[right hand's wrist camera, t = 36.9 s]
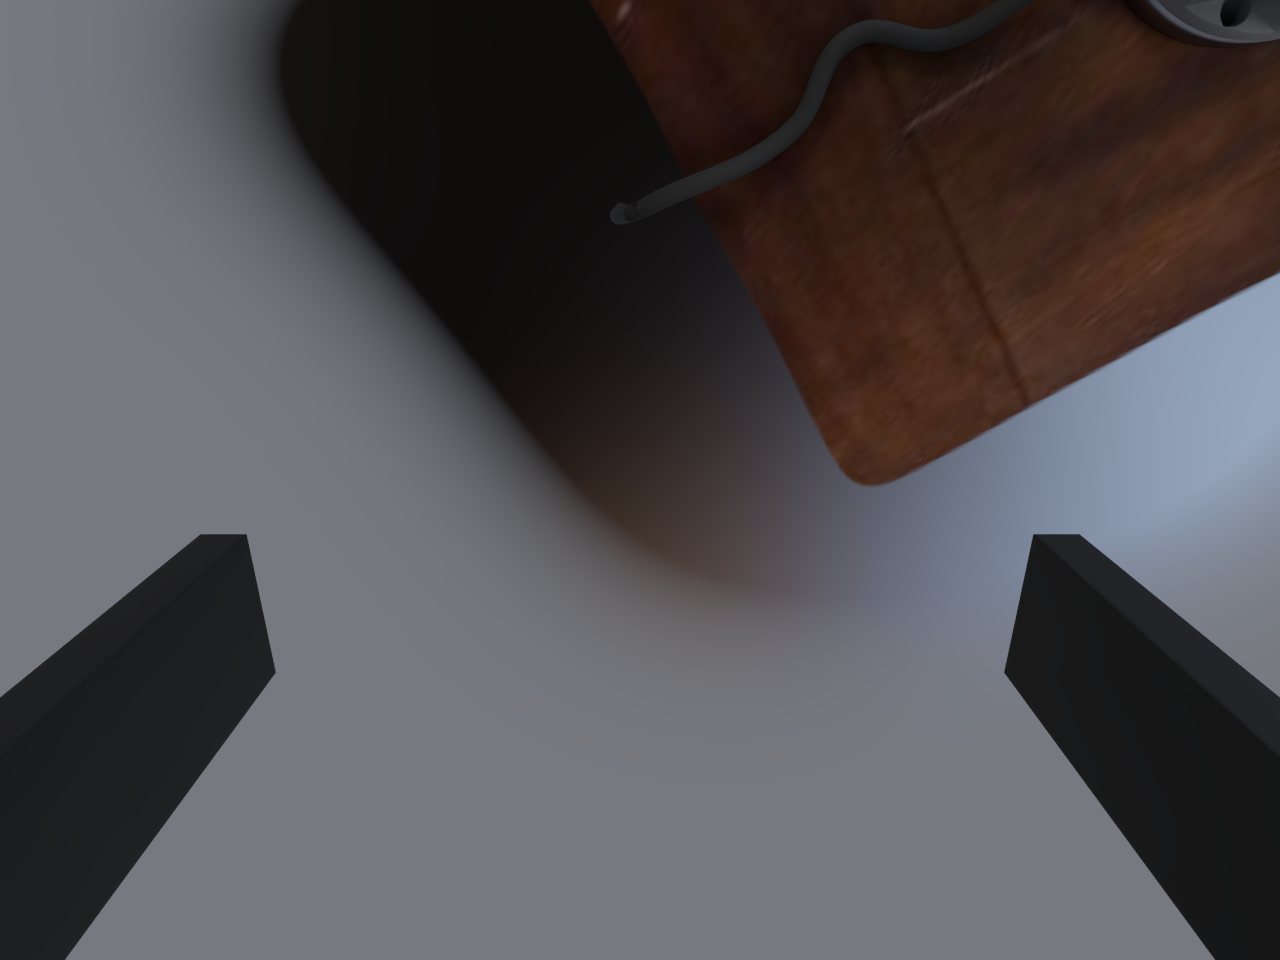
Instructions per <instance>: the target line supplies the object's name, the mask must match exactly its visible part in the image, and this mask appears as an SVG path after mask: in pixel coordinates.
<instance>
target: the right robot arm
mask: <svg viewBox="0 0 1280 960" xmlns="http://www.w3.org/2000/svg"><path fill="white" fill-rule="evenodd" d="M1034 1H1036V0H996V1H994V2H993V3H992V4H990V5H989V6H987V7H986V8H984V9H983V10H981V11H979V12H978V13H976V14H974V15H973V16H971V17H969V18H967V19H965V20H963V21H961V22H959V23H956V24H953V25H951V26H948V27H944V28H939V29H921V28H915V27H911V26H908V25H904V24H900V23H897V22H893V21H887V20H878V19H873V20H865V21H861V22H858V23H855V24H853V25H851V26H849V27H847V28H845V29H844V30H842V31H841V32H840V33H838V34H837V35H836V36H835V37H834V38H833V39H832V40H831V41H830V42H829V43H828V44H827V45H826V47H825V48H824V50H823V51H822V53H821V54H820V56H819V58H818V60H817V62H816V64H815V66H814V69H813V71H812V74H811V76H810V79H809V82H808V84H807V87H806V90H805V92H804V95H803V97H802V99H801V102H800V104H799V105H798V107H797V109H796V111H795V112H794V113H793V115H792V116H791V117H790V118H789V119H788V120H787V122H785V123H784V124H783V125H782V126H781V127H780V128H779V129H778V130H776V131H775V132H774V133H773V134H771V135H770V136H769V137H767V138H766V139H765V140H763V141H762V142H760V143H759V144H757V145H756V146H754V147H752V148H751V149H749V150H747V151H745V152H744V153H742V154H740V155H738V156H736V157H734V158H732V159H729V160H727V161H725V162H723V163H720V164H718V165H715V166H713V167H711V168H708V169H706V170H703V171H700V172H698V173H695V174H693V175H690V176H688V177H685V178H683V179H681V180H678V181H676V182H673V183H671V184H669V185H667V186H665V187H663V188H661V189H659V190H656V191H655V192H653V193H651V194H649V195H647V196H645V197H643V198H641V199H639V200H637V201H635V202H633V203H631V204H629V205H625V204H624V203H618V204H617V205H616V207H615V208H614V209H613V210H612V211H611V214H610V218H611V220H612V222H614V223H615V224H627V223H631V222H637V221H639V220H642V219H644V218H646V217H649V216H651V215H653V214H655V213H657V212H659V211H661V210H663V209H665V208H667V207H669V206H672V205H674V204H676V203H678V202H681V201H683V200H686V199H688V198H691V197H693V196H696V195H698V194H701V193H703V192H706V191H709V190H711V189H714V188H716V187H719V186H721V185H723V184H726V183H728V182H731V181H733V180H735V179H737V178H739V177H742V176H744V175H746V174H748V173H749V172H751V171H753V170H755V169H757V168H759V167H760V166H762V165H764V164H765V163H767V162H768V161H770V160H771V159H773V158H774V157H776V156H777V155H778V154H780V153H781V152H782V151H784V150H785V149H786V148H787V147H789V146H790V145H791V144H792V143H793V142H794V141H795V140H797V139H798V138H799V137H800V136H801V135H802V134H803V133H804V131H805V130H806V129H807V128H808V126H809V125H810V124H811V122H812V121H813V119H814V117H815V115H816V114H817V112H818V110H819V108H820V105H821V103H822V101H823V98H824V96H825V93H826V90H827V88H828V85H829V83H830V80H831V77H832V75H833V73H834V71H835V69H836V67H837V65H838V64H839V62H840V61H841V60H842V58H843V57H844V56H845V55H846V54H847V53H848V52H850V51H851V50H853V49H854V48H856V47H858V46H860V45H863V44H866V43H882V44H887V45H891V46H895V47H898V48H902V49H906V50H910V51H916V52H925V53H928V52H939V51H944V50H948V49H952V48H955V47H958V46H960V45H963V44H965V43H967V42H970V41H972V40H974V39H976V38H978V37H979V36H981V35H983V34H985V33H986V32H988V31H989V30H991V29H993V28H994V27H996V26H997V25H999V24H1000V23H1002V22H1003V21H1005V20H1006V19H1008V18H1009V17H1011V16H1012V15H1014V14H1015V13H1017V12H1018V11H1020V10H1021V9H1023V8H1024V7H1026V6H1028V5H1029V4H1031V3H1033V2H1034ZM1126 1H1127V2H1128V4H1129V5H1130V6H1131V7H1132V8H1133V9H1134V10H1135V11H1136V13H1137V14H1138V15H1139V16H1140V17H1142V18H1143V19H1144V20H1145V21H1146V22H1147V23H1149V24H1150V25H1151V26H1153V27H1154V28H1156V29H1157V30H1159V31H1160V32H1162V33H1164V34H1166V35H1168V36H1170V37H1172V38H1174V39H1177V40H1179V41H1182V42H1185V43H1188V44H1193V45H1198V46H1202V47H1213V48H1233V47H1241V46H1248V45H1253V44H1258V43H1262V42H1267V41H1272V40H1276V39H1280V0H1126ZM275 673H276V672H275V667H274V662H273V657H272V653H271V648H270V643H269V638H268V634H267V629H266V624H265V620H264V615H263V610H262V605H261V601H260V596H259V591H258V586H257V582H256V577H255V572H254V568H253V563H252V558H251V554H250V549H249V544H248V540H247V535H246V534H201V535H199V536H198V537H197V538H196V539H194V540H193V541H192V542H191V543H190V544H188V545H187V546H186V547H185V548H183V549H182V550H181V551H180V552H178V553H177V554H176V555H175V556H173V557H172V558H171V559H170V560H169V561H167V562H166V563H165V564H164V565H163V566H161V567H160V568H159V569H158V570H156V571H155V572H154V573H153V574H151V575H150V576H149V577H148V578H146V579H145V580H144V581H143V582H142V583H140V584H139V585H138V586H137V587H135V588H134V589H133V590H132V591H131V592H129V593H128V594H127V595H126V596H124V597H123V598H122V599H121V600H119V601H118V602H117V603H116V604H115V605H113V606H112V607H111V608H110V609H108V610H107V611H106V612H105V613H103V614H102V615H101V616H100V617H99V618H97V619H96V620H95V621H94V622H92V623H91V624H90V625H89V626H88V627H86V628H85V629H84V630H83V631H81V632H80V633H79V634H78V635H76V636H75V637H74V638H73V639H72V640H70V641H69V642H68V643H67V644H65V645H64V646H63V647H62V648H61V649H59V650H58V651H57V652H56V653H54V654H53V655H52V656H51V657H49V658H48V659H47V660H46V661H45V662H43V663H42V664H41V665H40V666H38V667H37V668H36V669H35V670H34V671H32V672H31V673H30V674H29V675H27V676H26V677H25V678H24V679H22V680H21V681H20V682H19V683H18V684H16V685H15V686H14V687H13V688H11V689H10V690H9V691H8V692H6V693H5V694H4V695H3V696H2V697H0V960H65V959H66V957H67V956H68V955H69V953H70V952H71V951H72V949H73V948H74V947H75V945H76V944H77V942H78V941H79V940H80V938H81V937H82V936H83V934H84V933H85V931H86V930H87V929H88V927H89V926H90V925H91V923H92V922H93V921H94V919H95V918H96V917H97V915H98V914H99V913H100V911H101V910H102V908H103V907H104V906H105V904H106V903H107V902H108V900H109V899H110V898H111V896H112V895H113V893H114V892H115V891H116V889H117V888H118V887H119V885H120V884H121V883H122V881H123V880H124V878H125V877H126V876H127V874H128V873H129V872H130V870H131V869H132V868H133V866H134V865H135V863H136V862H137V861H138V859H139V858H140V857H141V855H142V854H143V853H144V851H145V850H146V848H147V847H148V846H149V844H150V843H151V842H152V840H153V839H154V838H155V836H156V835H157V834H158V832H159V831H160V829H161V828H162V827H163V825H164V824H165V823H166V821H167V820H168V819H169V817H170V816H171V814H172V813H173V812H174V810H175V809H176V808H177V806H178V805H179V804H180V802H181V801H182V799H183V798H184V797H185V795H186V794H187V793H188V791H189V790H190V789H191V787H192V786H193V784H194V783H195V782H196V780H197V779H198V778H199V776H200V775H201V774H202V772H203V771H204V770H205V768H206V767H207V765H208V764H209V763H210V761H211V760H212V759H213V757H214V756H215V755H216V753H217V752H218V750H219V749H220V748H221V746H222V745H223V744H224V742H225V741H226V740H227V738H228V737H229V735H230V734H231V733H232V731H233V730H234V729H235V727H236V726H237V725H238V723H239V722H240V720H241V719H242V718H243V716H244V715H245V714H246V712H247V711H248V710H249V708H250V707H251V706H252V704H253V703H254V701H255V700H256V699H257V697H258V696H259V695H260V693H261V692H262V691H263V689H264V688H265V686H266V685H267V684H268V682H269V681H270V680H271V678H272V677H273V676H274V674H275ZM1004 673H1005V674H1006V676H1007V677H1008V678H1009V680H1010V681H1011V682H1012V684H1013V685H1014V686H1015V688H1016V689H1017V691H1018V692H1019V693H1020V695H1021V696H1022V697H1023V699H1024V700H1025V701H1026V703H1027V704H1028V705H1029V707H1030V708H1031V710H1032V711H1033V712H1034V714H1035V715H1036V716H1037V718H1038V719H1039V721H1040V722H1041V723H1042V725H1043V726H1044V727H1045V729H1046V730H1047V731H1048V733H1049V734H1050V735H1051V737H1052V738H1053V740H1054V741H1055V742H1056V744H1057V745H1058V746H1059V748H1060V749H1061V750H1062V752H1063V753H1064V755H1065V756H1066V757H1067V759H1068V760H1069V761H1070V763H1071V764H1072V765H1073V767H1074V768H1075V770H1076V771H1077V772H1078V774H1079V775H1080V776H1081V778H1082V779H1083V780H1084V782H1085V783H1086V784H1087V786H1088V787H1089V789H1090V790H1091V791H1092V793H1093V794H1094V795H1095V797H1096V798H1097V799H1098V801H1099V802H1100V804H1101V805H1102V806H1103V808H1104V809H1105V810H1106V812H1107V813H1108V814H1109V816H1110V817H1111V819H1112V820H1113V821H1114V823H1115V824H1116V825H1117V827H1118V828H1119V829H1120V831H1121V832H1122V834H1123V835H1124V836H1125V838H1126V839H1127V840H1128V842H1129V843H1130V844H1131V846H1132V847H1133V848H1134V850H1135V851H1136V853H1137V854H1138V855H1139V857H1140V858H1141V859H1142V861H1143V862H1144V863H1145V865H1146V866H1147V868H1148V869H1149V870H1150V872H1151V873H1152V874H1153V876H1154V877H1155V878H1156V880H1157V881H1158V883H1159V884H1160V885H1161V887H1162V888H1163V889H1164V891H1165V892H1166V893H1167V895H1168V896H1169V898H1170V899H1171V900H1172V902H1173V903H1174V904H1175V906H1176V907H1177V908H1178V910H1179V911H1180V913H1181V914H1182V915H1183V917H1184V918H1185V919H1186V921H1187V922H1188V923H1189V925H1190V926H1191V927H1192V929H1193V930H1194V932H1195V933H1196V934H1197V936H1198V937H1199V938H1200V940H1201V941H1202V942H1203V944H1204V945H1205V946H1206V948H1207V949H1208V951H1209V952H1210V953H1211V955H1212V956H1213V957H1214V959H1215V960H1280V697H1278V696H1277V695H1276V694H1275V693H1274V692H1272V691H1271V690H1270V689H1269V688H1267V687H1266V686H1265V685H1264V684H1262V683H1261V682H1260V681H1259V680H1258V679H1256V678H1255V677H1254V676H1253V675H1251V674H1250V673H1249V672H1248V671H1246V670H1245V669H1244V668H1243V667H1242V666H1240V665H1239V664H1238V663H1237V662H1235V661H1234V660H1233V659H1232V658H1231V657H1229V656H1228V655H1227V654H1226V653H1224V652H1223V651H1222V650H1221V649H1220V648H1218V647H1217V646H1216V645H1215V644H1213V643H1212V642H1211V641H1210V640H1208V639H1207V638H1206V637H1205V636H1204V635H1202V634H1201V633H1200V632H1199V631H1197V630H1196V629H1195V628H1194V627H1192V626H1191V625H1190V624H1189V623H1188V622H1186V621H1185V620H1184V619H1183V618H1181V617H1180V616H1179V615H1178V614H1176V613H1175V612H1174V611H1173V610H1172V609H1170V608H1169V607H1168V606H1167V605H1165V604H1164V603H1163V602H1162V601H1161V600H1159V599H1158V598H1157V597H1156V596H1154V595H1153V594H1152V593H1151V592H1149V591H1148V590H1147V589H1146V588H1145V587H1143V586H1142V585H1141V584H1140V583H1138V582H1137V581H1136V580H1135V579H1134V578H1132V577H1131V576H1130V575H1129V574H1127V573H1126V572H1125V571H1124V570H1122V569H1121V568H1120V567H1119V566H1118V565H1116V564H1115V563H1114V562H1113V561H1111V560H1110V559H1109V558H1108V557H1107V556H1105V555H1104V554H1103V553H1102V552H1100V551H1099V550H1098V549H1097V548H1095V547H1094V546H1093V545H1092V544H1091V543H1089V542H1088V541H1087V540H1086V539H1084V538H1083V537H1082V536H1081V535H1079V534H1034V535H1033V539H1032V544H1031V549H1030V553H1029V558H1028V563H1027V568H1026V572H1025V577H1024V582H1023V586H1022V591H1021V596H1020V601H1019V605H1018V610H1017V615H1016V620H1015V624H1014V629H1013V634H1012V638H1011V644H1010V648H1009V653H1008V657H1007V662H1006V667H1005V672H1004Z"/></svg>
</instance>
